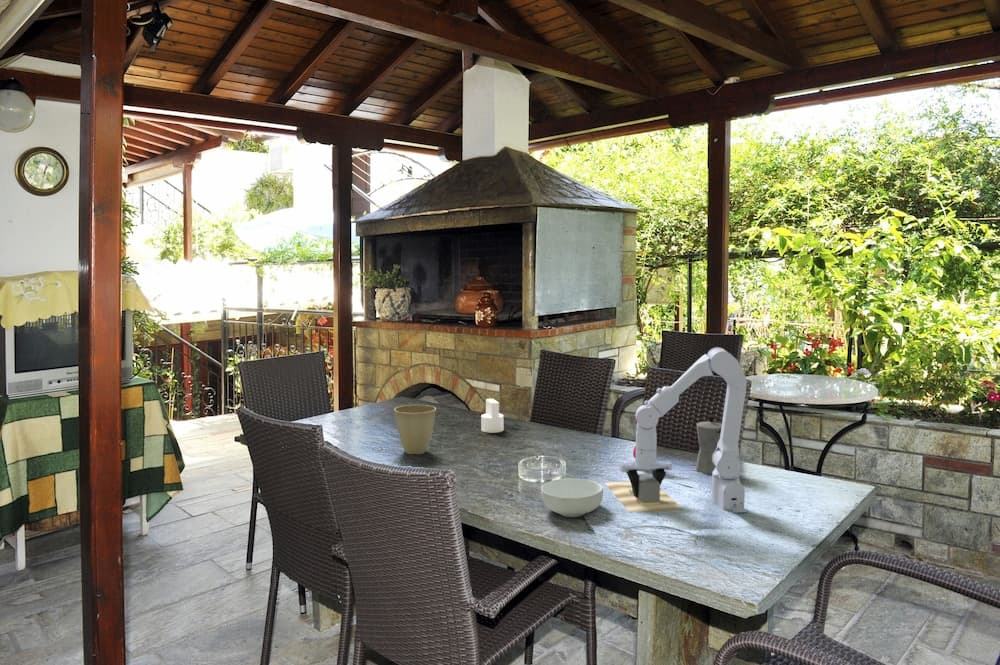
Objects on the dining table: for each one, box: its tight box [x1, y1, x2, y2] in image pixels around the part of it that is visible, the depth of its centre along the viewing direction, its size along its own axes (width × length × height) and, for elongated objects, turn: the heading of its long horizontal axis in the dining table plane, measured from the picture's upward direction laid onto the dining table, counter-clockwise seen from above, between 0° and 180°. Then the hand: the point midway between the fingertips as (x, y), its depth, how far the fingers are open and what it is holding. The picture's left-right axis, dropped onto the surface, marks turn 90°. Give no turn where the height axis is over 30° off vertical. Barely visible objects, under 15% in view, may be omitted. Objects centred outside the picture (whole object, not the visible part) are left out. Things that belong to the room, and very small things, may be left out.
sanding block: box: [632, 473, 661, 505], centre depth 201 cm, size 9×5×6 cm, turn 7°
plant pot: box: [393, 404, 437, 455], centre depth 256 cm, size 15×15×16 cm
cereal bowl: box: [540, 477, 604, 518], centre depth 195 cm, size 17×17×7 cm
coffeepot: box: [695, 415, 722, 475], centre depth 230 cm, size 15×9×18 cm, turn 14°
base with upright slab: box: [480, 398, 505, 434], centre depth 289 cm, size 9×9×12 cm
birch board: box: [604, 480, 684, 513], centre depth 205 cm, size 26×15×1 cm, turn 7°
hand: (645, 495), depth 201 cm, fingers closed on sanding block, 5 cm apart
